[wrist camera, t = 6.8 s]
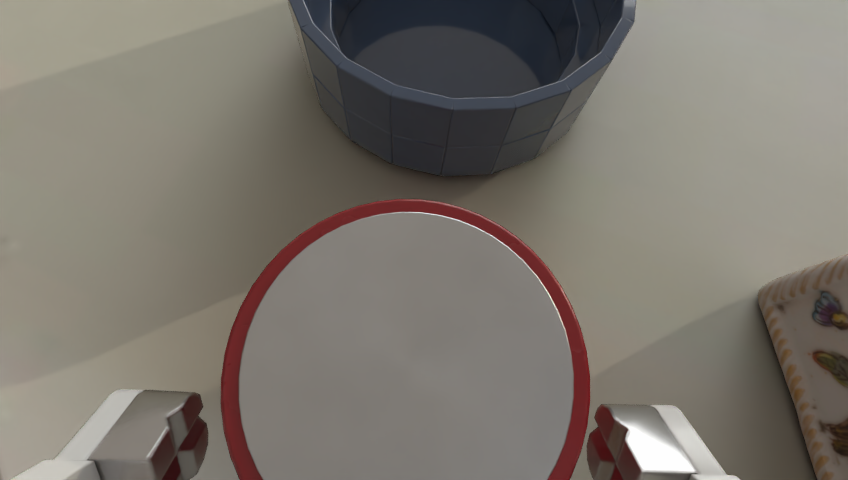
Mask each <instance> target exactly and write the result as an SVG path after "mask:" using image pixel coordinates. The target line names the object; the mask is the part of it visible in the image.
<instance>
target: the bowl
mask: <svg viewBox="0 0 848 480" xmlns="http://www.w3.org/2000/svg"><path fill="white" fill-rule="evenodd" d="M287 2H288V5H289V9H290V12H291V16H292V19H293V23H294V26H295V30H296V34H297V37H298V41H299V44H300V48H301V51H302V55H303V58H304V62H305V65H306V69H307V72H308V75H309V78H310V80H311V83H312V85H313V88H314V90H315V93H316V95H317V98H318V100H319V103H320V106H321V108H323V110H324V111H325V112H326V113H327V115H328V116H329V117H330V118H331V119H332V120H333V121H334V122H335V123H336V125H337V126H338V127H339V128H340V129H341V130H342V131H343V132H344V133H345V135H346V136H347V137H348V138H349V139H350V140H352V142H354V143H356V144H358V145H359V146H361V147H363V148H365V149H366V150H368V151H370V152H371V153H373V154H375V155H377V156H378V157H380V158H382V159H384V160H385V161H387V162H389V163H391V164H394V165H397V166H401V167H405V168H409V169H414V170H418V171H422V172H426V173H430V174H434V175H441V176H459V175H482V174H492V173H495V172H498V171H501V170H504V169H506V168H509V167H512V166H515V165H518V164H521V163H523V162H526V161H529V160H532V159H534V158H536V157H537V156H538V155H540V154H541V153H542V152H543V151H545V150H546V149H547V148H548V147H550V146H551V145H552V144H554V143H555V142H556V141H557V140H559V139H560V138H561V137H562V136H564V135H565V134H566V133H567V132H568V131H569V129H570V127H571V126H572V124H573V123H574V121H575V119H576V118H577V116H578V114H579V113H580V111H581V110H582V108H583V106H584V105H585V103H586V102H587V100H588V98H589V97H590V95H591V94H592V92H593V90H594V89H595V87H596V85H597V84H598V82H599V81H600V79H601V77H602V76H603V74H604V73H605V71H606V69H607V68H608V66H609V64H610V63H611V61H612V60H613V58H614V56H615V55H616V53H617V51H618V49H619V48H620V46H621V44H622V43H623V41H624V39H625V38H626V36H627V34H628V32H629V31H630V29H631V27H632V26H633V23H634V19H635V8H636V0H287Z"/></svg>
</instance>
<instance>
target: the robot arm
mask: <svg viewBox="0 0 848 480" xmlns="http://www.w3.org/2000/svg"><path fill="white" fill-rule="evenodd" d="M202 408H203V404H202V400H201V396H200V394H198V393H195V392H177V391H159V390H131V389H118V390H116V391H114V392H113V393H111V394H110V395H109V396H108V397H107V398H106V399H105V401H104V402H103V403H102V404H101V405H100V406H99V408H98V409H97V410H96V411H95V412H94V413H93V414H92V416H91V417H90V418H89V419H88V420H87V421H86V423H85V424H84V425H83V426H82V427H81V428H80V430H79V431H78V432H77V433H76V434H75V435H74V437H73V438H72V439H71V440H70V441H69V442H68V443H67V445H66V446H65V447H64V448H63V449H62V450H61V452H60V453H59V454H58V455H57V456H56V457H55V459H54V460H43V461H42V462H40V463H38V464H36V465H35V466H33V467H31V468H29V469H28V470H26V471H24V472H22V473H21V474H19V475H17V476H15V477H14V478H12V479H10V480H190V479H191V478H192V477H194V476H195V475H196V474H197V473H198V471H199V469H200V467H201V465H202V463H203V461H204V458H205V454H206V450H207V446H208V428H207V423H206V422H204V421H203V420H202V419H201V418H200V417H199V416H198V415H199V413H200V412H201V410H202ZM594 418H595V420H596V422H597V425H598V427H597V428H596V429H595V430H593V431H592V432H591V433H590V434H589V438H588V443H587V461H588V465H589V469H590V472H591V475H592V478H593V480H741V479H739V478H738V477H737V476H734V475H727V474H726V473H725V471H724V470H723V468H722V467H721V466H720V464H719V463H718V462H717V460H716V459H715V457H714V456H713V455H712V453H711V452H710V450H709V449H708V448H707V446H706V445H705V443H704V442H703V441H702V439H701V438H700V437H699V435H698V434H697V432H696V431H695V430H694V428H693V427H692V425H691V424H690V423H689V421H688V420H687V418H686V417H685V416H684V414H683V413H682V411H681V410H680V409H679V408H677V407H676V406H674V405H627V404H601V405H600V406H599V407H598V408H597V411H596V414H595V417H594Z"/></svg>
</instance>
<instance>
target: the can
mask: <svg viewBox="0 0 848 480" xmlns="http://www.w3.org/2000/svg"><path fill="white" fill-rule="evenodd" d="M589 406H590V373H589V366H588V358H587V351H586V347H585V343H584V340H583V336H582V332H581V328H580V326H579V323H578V320H577V318H576V315H575V313H574V310H573V308H572V305H571V304H570V302H569V300H568V298H567V296H566V294H565V292H564V291H563V289H562V287H561V285H560V284H559V282H558V281H557V280H556V278H555V277H554V275H553V274H552V272H551V271H550V270H549V268H548V267H547V266H546V265H545V264H544V262H543V261H542V260H541V259H540V258H539V257H538V256H537V255H536V254H535V252H534V251H533V250H531V249H530V248H529V247H528V246H527V245H526V244H525V243H524V242H522V241H521V240H520V239H519V238H518V237H517V236H515V235H514V234H512V233H511V232H509V231H508V230H506V229H505V228H504V227H502V226H501V225H499V224H497V223H495V222H494V221H492V220H490V219H488V218H486V217H484V216H482V215H480V214H478V213H475V212H472V211H470V210H467V209H465V208H462V207H458V206H455V205H451V204H447V203H443V202H437V201H429V200H422V199H395V200H385V201H377V202H373V203H368V204H364V205H360V206H356V207H353V208H350V209H348V210H345V211H342V212H339V213H337V214H335V215H333V216H331V217H329V218H327V219H325V220H323V221H321V222H319V223H317V224H315V225H314V226H312V227H311V228H309V229H308V230H306V231H305V232H303V233H302V234H300V235H299V236H298V237H296V238H295V239H294V240H293V241H292V242H291V243H289V244H288V245H287V246H286V247H285V248H283V249H282V250H281V251H280V252H279V253H278V255H277V256H276V257H275V258H274V259H273V260H272V261H271V262H270V263H269V264H268V265H267V266H266V268H265V269H264V270H263V272H262V273H261V274H260V276H259V277H258V279H257V280H256V281H255V283H254V284H253V285H252V287H251V289H250V291H249V292H248V294H247V296H246V298H245V300H244V301H243V303H242V305H241V307H240V309H239V312H238V314H237V317H236V319H235V321H234V324H233V326H232V329H231V332H230V336H229V339H228V343H227V347H226V350H225V355H224V362H223V369H222V376H221V412H222V420H223V429H224V434H225V438H226V442H227V446H228V450H229V454H230V457H231V460H232V462H233V465H234V467H235V470H236V472H237V475H238V477H239V480H570V478H571V476H572V473H573V471H574V468H575V466H576V463H577V460H578V458H579V455H580V453H581V449H582V445H583V441H584V437H585V433H586V429H587V424H588V415H589Z"/></svg>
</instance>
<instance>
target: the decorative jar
mask: <svg viewBox="0 0 848 480" xmlns="http://www.w3.org/2000/svg"><path fill="white" fill-rule="evenodd" d="M758 301H759V306H760V308H761V311H762V314H763V317H764V319H765V322H766V325H767V328H768V331H769V334H770V337H771V339H772V342H773V346H774V348H775V351H776V355H777V358H778V360H779V363H780V366H781V368H782V371H783V374H784V377H785V381H786V383H787V385H788V388H789V391H790V394H791V397H792V399H793V402H794V405H795V408H796V411H797V414H798V418H799V422H800V427H801V430H802V433H803V436H804V438H805V442H806V446H807V449H808V452H809V455H810V459H811V462H812V464H813V468H814V471H815V474H816V477H817V480H848V254H846V255H842V256H840V257H837V258H834V259H832V260H828V261H824V262H822V263H819V264H816V265H813V266H810V267H807V268H804V269H802V270H799V271H796V272H793V273H790V274H787V275H785V276H783V277H780V278H777V279H775V280H772V281H770V282H768V283H767V284H765V285H764V286H762V288H761V289H760V290H759V292H758Z"/></svg>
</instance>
